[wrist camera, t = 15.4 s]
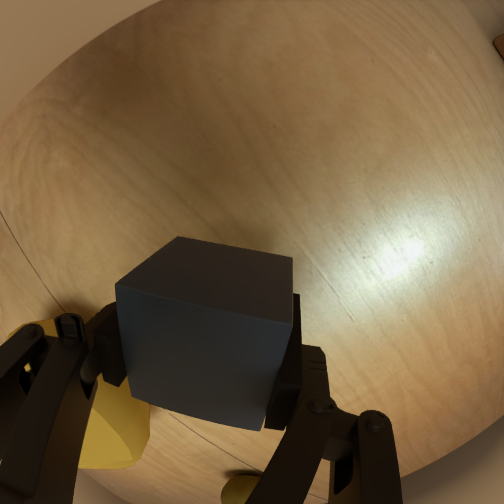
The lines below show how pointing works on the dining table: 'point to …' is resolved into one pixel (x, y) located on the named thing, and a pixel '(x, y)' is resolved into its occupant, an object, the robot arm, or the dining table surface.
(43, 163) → the dining table surface
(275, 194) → the dining table surface
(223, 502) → the apple
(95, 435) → the vase
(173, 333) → the slate block
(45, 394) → the robot arm
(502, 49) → the wooden block
